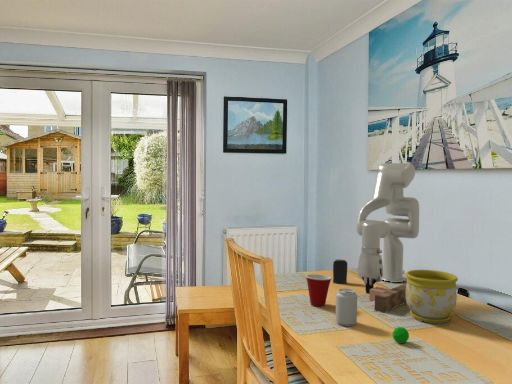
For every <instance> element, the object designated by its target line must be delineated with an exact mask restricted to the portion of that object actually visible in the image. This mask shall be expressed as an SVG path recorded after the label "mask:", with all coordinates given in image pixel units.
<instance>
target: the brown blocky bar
mask: <svg viewBox="0 0 512 384" xmlns="http://www.w3.org/2000/svg"><path fill="white" fill-rule="evenodd" d="M406 285H407V282H404V283H403V284H401V285H399V286H395V287H392V288H391V289H389V290H387V291H385V292H382V293H380V294H377V295H375V302H374V311H375V310H376V311H375V312H379V311H380V312H379V313H383V312H385V313H387V312H388V311H387V310H389V311H391V310H393V309H395V308H397V307H399V306H398V305H400V304H402V305H404V304H405V303H406V304H407V301H406ZM403 303H404V304H403ZM396 306H397V307H396ZM400 306H401V305H400ZM394 307H395V308H394ZM392 308H393V309H392ZM390 309H391V310H390ZM386 311H387V312H386Z"/></svg>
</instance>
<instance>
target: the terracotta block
mask: <svg viewBox="0 0 512 384" xmlns="http://www.w3.org/2000/svg"><path fill="white" fill-rule="evenodd" d="M387 290H390V289H389V288H384V287H379V286H374V287H373V288H372V289H370V294H369V296H368V297H369V300H370V301H369V302H372V301H375V295H377V294H380V293H382V292H385V291H387Z"/></svg>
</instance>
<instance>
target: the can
mask: <svg viewBox="0 0 512 384" xmlns="http://www.w3.org/2000/svg"><path fill="white" fill-rule="evenodd" d="M334 317H335V322H336V323H337V325H340V326H343V327H352V326H354V325H355V324H356V323H357V322H358V321H357V319H358V295H357V293H356V290H354V289H352V288H338V290H337V293H336V294H335V316H334Z"/></svg>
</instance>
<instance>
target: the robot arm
mask: <svg viewBox="0 0 512 384" xmlns="http://www.w3.org/2000/svg"><path fill="white" fill-rule="evenodd" d="M377 172H378V173H377V174H376V178H375V183H374V189H373V193H372V198H371V199H370V200H369V201H368V202H366V203H365V204H364V205H363V206H362V208H361V209H360V211H359V213H358V216H357V217H358V218H357V223H356V232H357V234H358V235H359V236H361V252H360V254H359V258H358V262H357V264H358V265H357V274H358V276H357V277H358V278H359V279H361V280H362V281H363V282H364V284H365V288H364V289H365V294H368V295H370V289H372V288H375V286H374V285H375V284H376V283H379V282H385V281H390V282H389V283H392V282H402V283H404V282H403V281H405V280H406V281H407V278H406V277H403V275H404V274H406V271H405V269H403V268H404V244H403V243H402V241H401V238H402V239H417V237H419V232H420V204H419V200H418V199H417V198H415V197H409V196H408V197H406V196H404V189H406V188H408V187H409V185H410V184H411V183H412V181H413V180H414V178H415V175H416V168H415V166H414V165H413V164H412V163H406V162H405V163H403V162H401V163H400V162H397V163H396V162H395V163H394V162H393V163H392V162H391V163H390V162H387V163H382V164H379V166H378V167H377ZM382 208H385V211H386V214H387V215H390V216H395V217H388V218H386V219H384V220H374V219H367V218H368V217H369V215H371V213H372V212H375V211H376V210H379V209H382ZM396 216H397V217H398V218H397V217H396ZM399 217H407V218H399ZM381 239H383V250H382V249H381V248H380V247H381V243H380V242H381ZM382 253H383V258H382V255H381V254H382ZM382 280H384V281H382ZM406 281H405V282H406Z"/></svg>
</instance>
